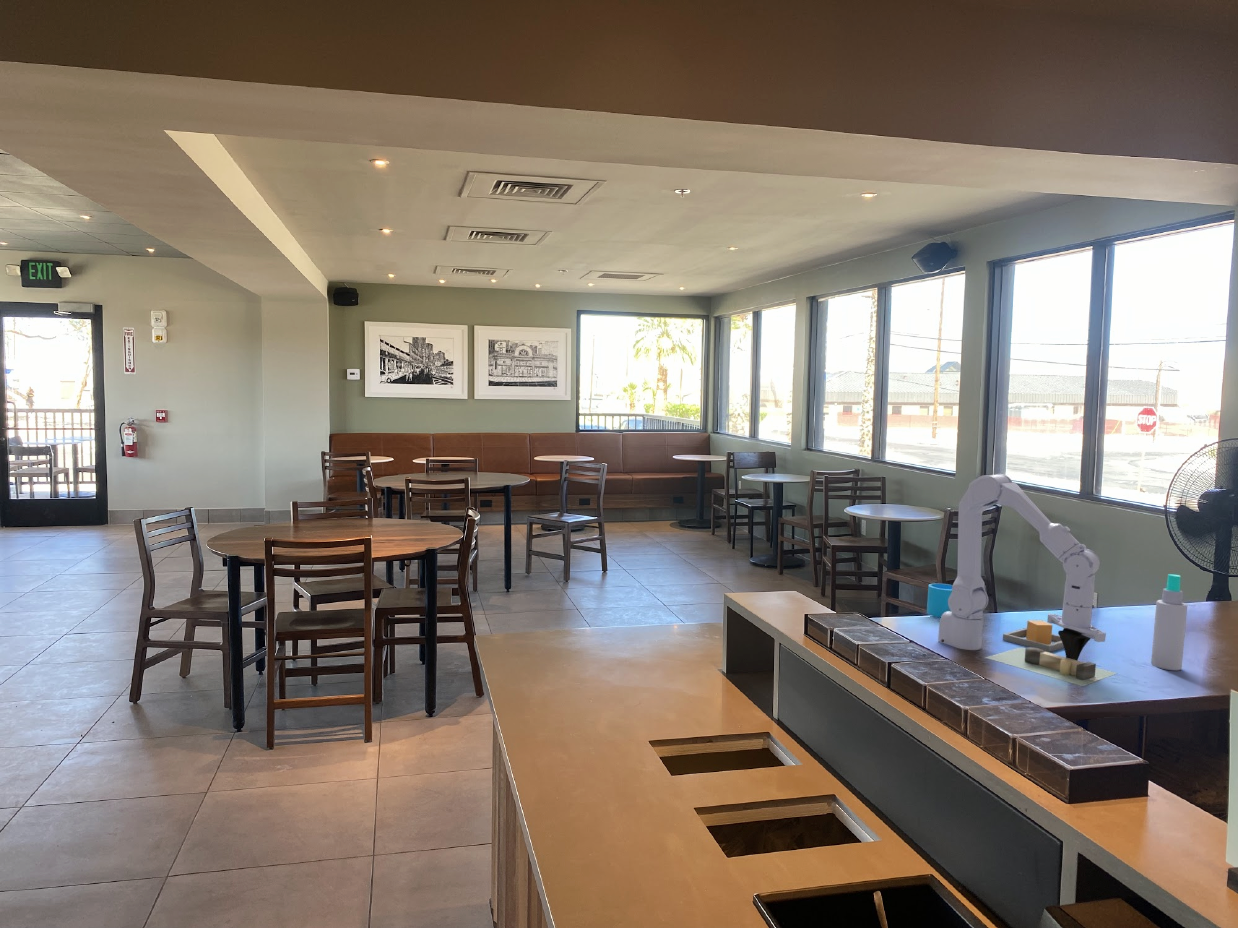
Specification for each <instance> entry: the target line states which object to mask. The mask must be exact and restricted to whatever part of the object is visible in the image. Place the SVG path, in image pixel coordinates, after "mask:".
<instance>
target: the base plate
mask: <svg viewBox="0 0 1238 928" xmlns="http://www.w3.org/2000/svg"><path fill="white" fill-rule="evenodd" d="M1025 649H1026V647H1021V646H1020V647H1017V648H1013V649H1009V650H1006V651H1002V652H999V653H996V654H992V655H989V656H985V657H984V659H987V660H990V661H995V662H997V663H1001V664H1005V665H1008V666H1012V667H1015V668H1019V669H1021V670H1025V671H1029V672H1032V673H1036V674H1039V675H1043V676H1046V677H1049V678H1052V679H1056V680H1060V681H1062V682H1066V683H1070V684H1073V685H1076V686H1080V687H1085V686H1087V685H1090V684H1093V683H1096V682H1099V681H1102V680H1104V679H1107V678H1109V677H1112V676H1114V675H1117V674H1118V672H1113V671H1109V670H1106V669H1102V668H1099V667H1096V669H1095V676H1094V677H1091V678H1088V679H1084V680H1082V679H1078V678H1076V675H1072V674H1070V668H1071V661H1069V660H1064V659H1062V660H1061V663H1060V671H1059V670H1055V669H1052V668H1049V667H1045V666H1042V665H1036V664H1030V663H1027V662H1025Z"/></svg>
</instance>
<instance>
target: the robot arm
mask: <svg viewBox="0 0 1238 928" xmlns="http://www.w3.org/2000/svg"><path fill="white" fill-rule="evenodd" d="M995 503H996V504H997V505H1001V506H1004V507H1005V506H1006V507H1010V508H1012V509H1014V510H1015V511H1016V512H1017V513H1018V514H1019V515H1020V516H1021V517H1022V518H1023V519H1025V520H1026V521H1027V523H1029V524H1030V525H1031V526H1032V527H1033V528H1034V529H1036V531H1037V532H1038V533H1039V541H1040V542H1041V543H1042V545H1044V546H1045V547H1046V548H1047V549H1048V550H1049V551H1050V553H1052V555H1053V556H1055V558H1057V560H1058V561H1060V562H1061V563H1062V569H1063V571H1064V573H1065V574H1066V575H1065V583H1064V592H1063V601H1062V610H1061V611H1062V613H1061V615H1059V614H1056V613H1048V614H1047V620H1046V623H1049V624H1051V625H1056V626H1057V627H1060V628H1063V629H1062V630H1058V633H1057V635H1058V636H1060V638H1061V640H1062V643H1063V646H1064V648H1063V649H1064V653H1065V657H1066V658H1070V659H1073V660H1077V661H1079V657H1080V655H1081V653H1082V651H1083V649H1084V647H1085V646H1086V645H1087V644H1088V642H1089V641H1090V640H1093V641H1094V642H1097V643H1101V642H1103V643H1104V642H1106V635H1107V633H1106V632H1104V631H1102V630H1100V629H1099V628H1097V627H1095V626H1093V625H1092V616H1093V605H1094V594H1095V587H1096V586H1095V581H1096V574H1095V573H1096V572H1097V571H1098V570H1099V568H1100V566H1101V561H1100V558H1099V556H1098V555H1097V554H1096V552H1095V551H1094V550H1091V549H1088V548H1087V545H1085V543H1082V544H1081V543H1080V541H1078V540H1077V539H1076V538H1075V537H1074V536H1073V535H1072V533H1070V531H1071V528H1069V527H1068V526H1066V525H1065V526H1064V525H1062V524H1061V523H1053V522H1052V521H1051V520H1049V518H1048V517H1047V516H1046V515H1045V514H1044V513H1043V512H1042V511H1041V510H1040V509H1039V508H1038V506H1037V505H1036V504H1035V503H1034V502H1033V501H1032V500H1031V499H1030V498H1029V497H1028V495H1027V494H1026V493H1025V492H1024V491H1023V489H1022V488H1021V487H1020V486H1019V485H1018V484H1017V483H1016V482H1015V481H1013V480H1012V479H1011V478H1010V477H1009V476H1008V475H1006V474H1002V473H996V474H991V475H990V474H989V475H988V474H987V475H986V474H985V475H984V474H983V475H981V476H978V477H977V478H975V479H974V480H972V481H971V482H970V483H969V484H968V489H967V490H966V492H965V493H964V494H963V496H962V497H961V499H960V501H959V503H958V521H957V522H958V524H957V525H958V526H957V528H958V529H957V531H958V532H957V572H956V573H957V575H956V578H955V580H954V581H953V584H951V585H952V593H951V595H950V597H949V599H948V606H949V608H950V610H951V611H952V612H951V611H946V612H944V613H943V614H942V616H941V618H939V622H938V635H937V636H938V639H937V642H938V643H940V644H945V645H949V646H950V647H951V646H952V647H953V648H957V649H961V650H966V651H967V650H968V651H977V650H981V649H982V644H983V643H982V640H983V628H984V627H983V625H984V613H983V611H984V610H985V609H986V608H987V606H988V605H989V596H988V594H987V591H986V589H985V587H986V586H985V581H984V579H983V577H982V544H983V543H982V541H983V538H982V534H983V533H982V532H983V529H982V527H983V526H982V525H983V512H985V511H986V510H987V509H988V508H990V507H991V506H993V504H995Z"/></svg>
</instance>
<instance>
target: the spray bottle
mask: <svg viewBox="0 0 1238 928" xmlns="http://www.w3.org/2000/svg"><path fill="white" fill-rule="evenodd" d="M1181 578H1182V577H1181V575H1180V574H1172V573H1170V574H1169V573H1168V574H1167V581H1166V582H1167V583H1166V587H1165V588H1163V589H1162V594H1161V599H1158V600H1156V603H1155V605H1156V606H1155V615H1154V625H1153V626H1154V627H1153V638H1152V647H1151V648H1152V650H1151V658H1150V661H1151V662H1150V663H1151V665H1152V666H1153V667H1155V668H1157V669H1161V670H1165V671H1166V670H1167V671H1175V672H1176V671H1180V670H1182V667H1183V659H1184V658H1183V657H1184V648H1185V647H1184V646H1185V634H1186V624H1187V614H1188V604H1186V603H1185V602H1183V597H1184V593H1183V590H1181V580H1182V579H1181Z"/></svg>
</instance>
